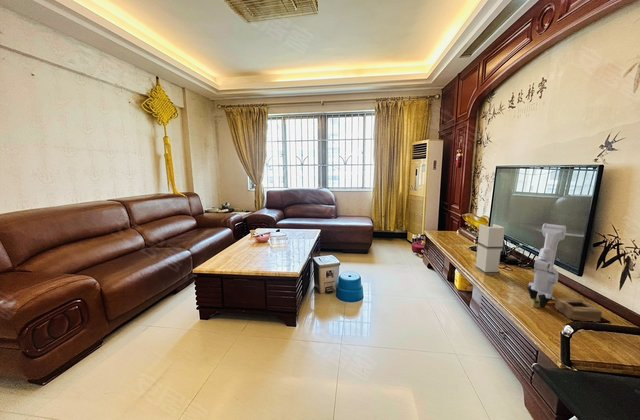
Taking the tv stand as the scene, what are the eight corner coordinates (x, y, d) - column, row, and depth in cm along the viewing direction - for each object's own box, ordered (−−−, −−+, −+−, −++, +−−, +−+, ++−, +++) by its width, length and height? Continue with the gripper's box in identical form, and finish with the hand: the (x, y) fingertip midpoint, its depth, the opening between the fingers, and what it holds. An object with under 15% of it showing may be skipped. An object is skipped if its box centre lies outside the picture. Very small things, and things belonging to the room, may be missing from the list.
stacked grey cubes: (499, 274, 182) (504, 227, 176) (484, 274, 182) (489, 227, 176) (489, 268, 193) (494, 223, 187) (475, 268, 193) (479, 224, 187)
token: (529, 304, 143) (530, 298, 142) (541, 305, 142) (542, 298, 142) (533, 307, 140) (533, 300, 140) (545, 308, 139) (546, 301, 139)
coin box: (554, 307, 139) (556, 297, 138) (579, 309, 137) (580, 299, 136) (572, 320, 127) (574, 310, 126) (599, 322, 126) (601, 311, 125)
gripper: (524, 275, 146) (521, 296, 149) (542, 286, 132) (538, 310, 134) (537, 275, 145) (534, 297, 148) (557, 287, 131) (553, 311, 133)
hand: (537, 303), depth 141 cm, fingers open, 7 cm apart
